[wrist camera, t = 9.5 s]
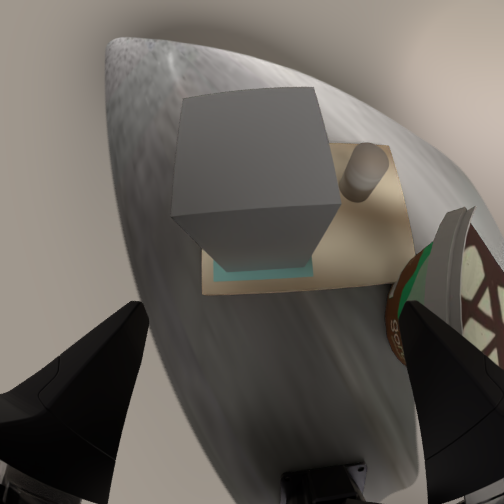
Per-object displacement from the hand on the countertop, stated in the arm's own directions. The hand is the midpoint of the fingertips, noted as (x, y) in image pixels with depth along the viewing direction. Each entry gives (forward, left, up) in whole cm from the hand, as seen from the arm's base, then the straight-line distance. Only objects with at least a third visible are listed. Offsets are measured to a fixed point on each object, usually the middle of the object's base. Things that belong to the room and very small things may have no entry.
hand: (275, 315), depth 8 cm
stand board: (+7, -3, -9) cm, 12 cm away
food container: (-3, -10, -10) cm, 15 cm away
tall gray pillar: (+5, 0, -8) cm, 10 cm away
